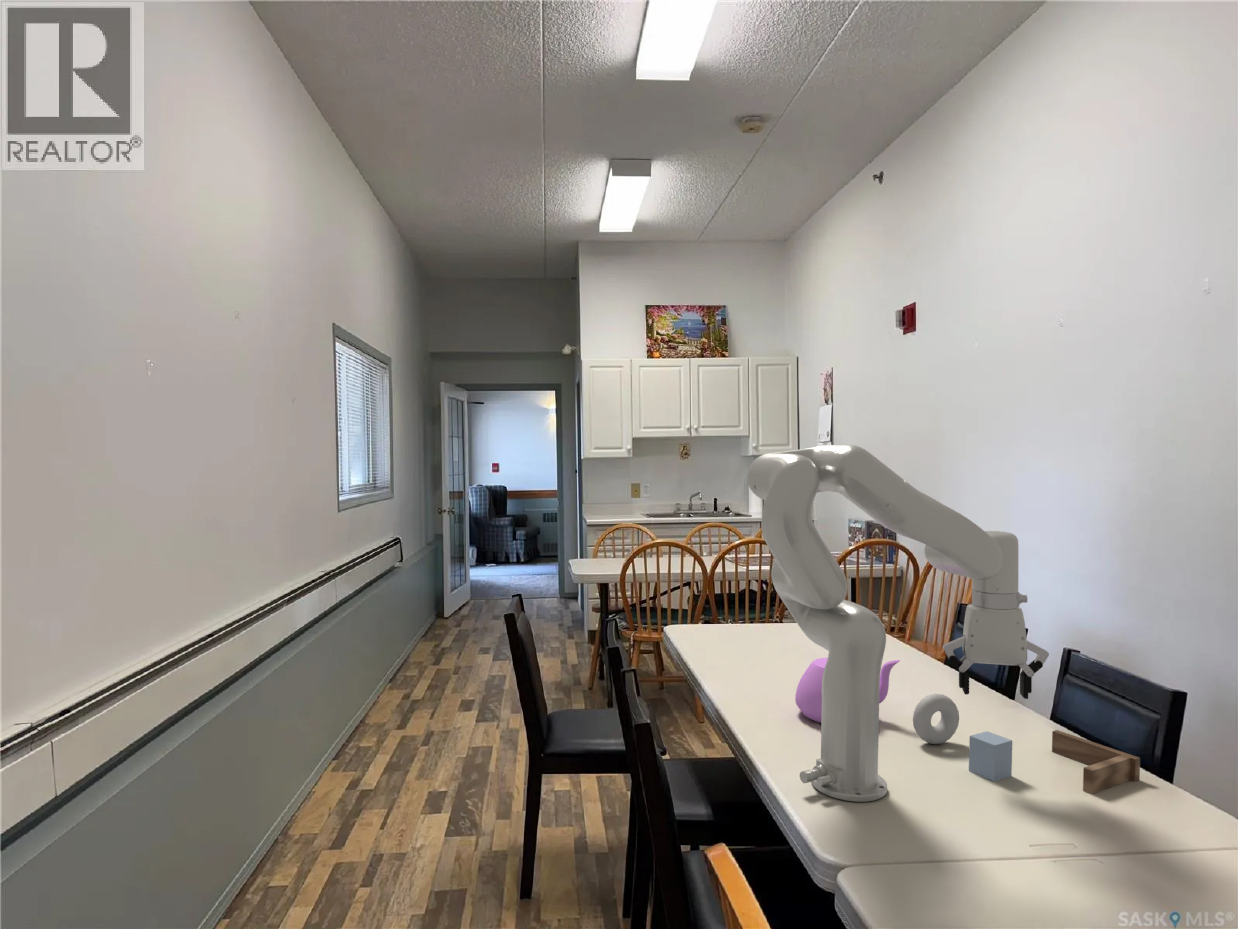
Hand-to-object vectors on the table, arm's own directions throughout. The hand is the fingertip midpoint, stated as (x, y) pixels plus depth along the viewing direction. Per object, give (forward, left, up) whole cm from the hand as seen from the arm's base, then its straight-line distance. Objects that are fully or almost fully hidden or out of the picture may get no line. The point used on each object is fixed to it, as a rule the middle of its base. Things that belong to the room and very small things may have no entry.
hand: (994, 694), depth 137 cm
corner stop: (+14, -7, -14) cm, 21 cm away
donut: (+2, +14, -15) cm, 21 cm away
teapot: (-3, +33, -15) cm, 36 cm away
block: (-1, 0, -15) cm, 14 cm away
